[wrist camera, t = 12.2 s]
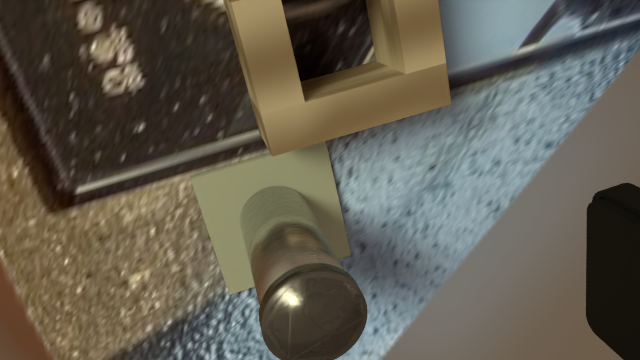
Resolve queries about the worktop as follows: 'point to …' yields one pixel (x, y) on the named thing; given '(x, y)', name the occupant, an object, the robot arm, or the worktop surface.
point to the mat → (248, 178)
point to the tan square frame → (340, 73)
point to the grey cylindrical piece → (299, 279)
